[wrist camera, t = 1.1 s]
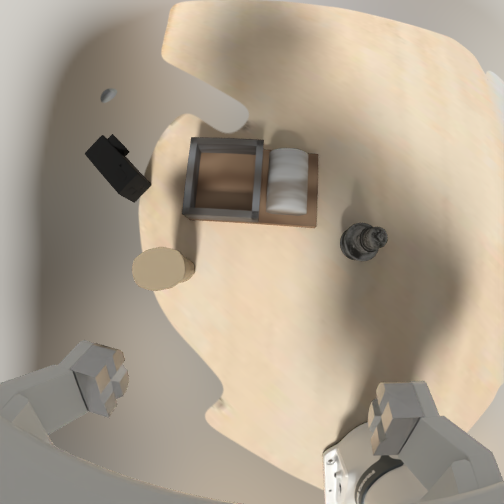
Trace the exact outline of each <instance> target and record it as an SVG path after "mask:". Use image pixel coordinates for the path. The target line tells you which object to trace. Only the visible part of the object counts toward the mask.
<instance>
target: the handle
mask: <svg viewBox="0 0 504 504" xmlns="http://www.w3.org/2000/svg"><path fill="white" fill-rule="evenodd" d="M132 271H133V277H134V280H135V282H136V284H137V285H138V286H139V287H141V288H144V289H148V290H152V291H158V290H164V289H169V288H172V287H174V286H175V285H177V284H178V283H181V282H185V281H187V280H189V279H190V278H191V277H192V275H193V274H194V273H195V271H194V264H193V263H192V262H191V261H190V260H188V259H187V258H185V257H184V256H183V255H182V254H181V252H180V251H177V250H174V249H170V248H166V247H158V248H153V249H149V250H146V251H144V252H143V253H142V254H140V255H139V256H138V257H137V258H135V259H134V262H133V267H132Z"/></svg>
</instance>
